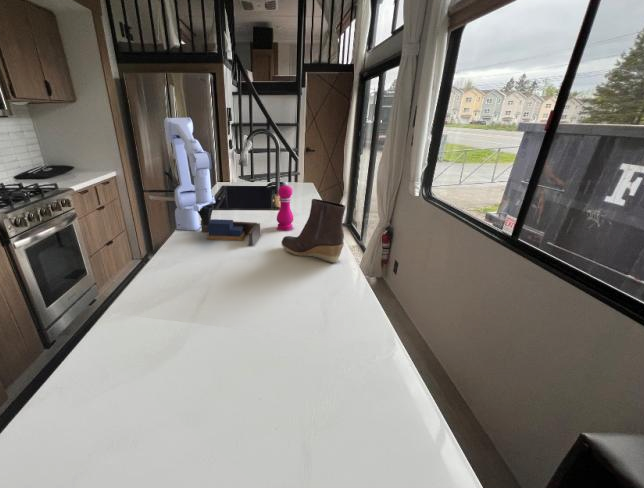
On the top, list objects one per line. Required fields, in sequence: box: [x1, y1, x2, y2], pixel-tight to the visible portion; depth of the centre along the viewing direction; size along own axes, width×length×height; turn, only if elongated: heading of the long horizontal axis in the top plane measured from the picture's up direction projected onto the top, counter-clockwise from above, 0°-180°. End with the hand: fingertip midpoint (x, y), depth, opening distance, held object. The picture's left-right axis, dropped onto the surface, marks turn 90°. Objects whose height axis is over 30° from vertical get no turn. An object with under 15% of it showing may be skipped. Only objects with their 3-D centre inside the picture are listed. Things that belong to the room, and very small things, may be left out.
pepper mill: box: [276, 181, 294, 232], centre depth 136 cm, size 7×7×20 cm
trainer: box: [206, 218, 246, 241], centre depth 130 cm, size 14×6×6 cm, turn 82°
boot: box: [281, 198, 347, 264], centre depth 110 cm, size 9×24×20 cm, turn 53°
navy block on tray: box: [200, 220, 261, 247], centre depth 130 cm, size 26×13×5 cm, turn 78°
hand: (206, 224), depth 121 cm, fingers closed
